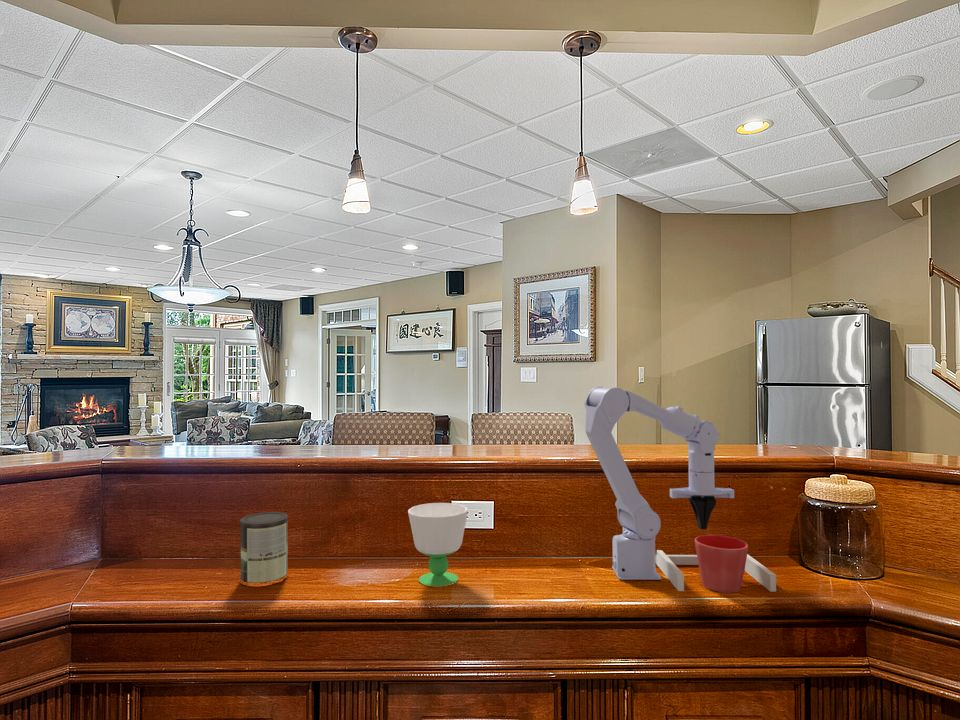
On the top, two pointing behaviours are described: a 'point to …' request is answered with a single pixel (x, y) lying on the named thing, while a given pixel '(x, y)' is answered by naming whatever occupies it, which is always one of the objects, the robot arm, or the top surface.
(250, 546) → the coffee can
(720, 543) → the flower pot
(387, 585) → the top surface
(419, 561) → the top surface
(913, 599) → the top surface
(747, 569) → the u-shaped frame
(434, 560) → the cup
